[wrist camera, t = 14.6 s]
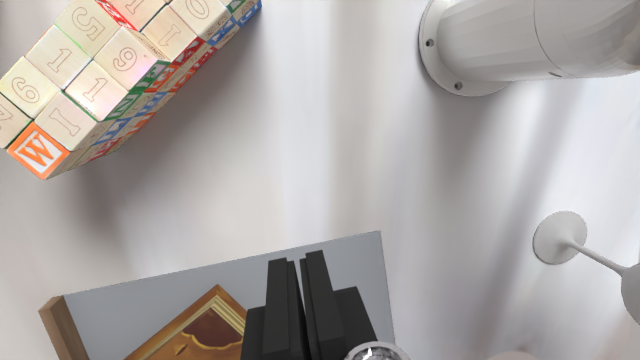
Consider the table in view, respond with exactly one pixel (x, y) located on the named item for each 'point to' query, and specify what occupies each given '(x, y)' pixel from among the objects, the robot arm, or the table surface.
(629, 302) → the wineglass
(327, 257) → the display board
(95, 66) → the stack of blocks
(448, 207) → the table surface
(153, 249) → the table surface
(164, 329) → the diary
